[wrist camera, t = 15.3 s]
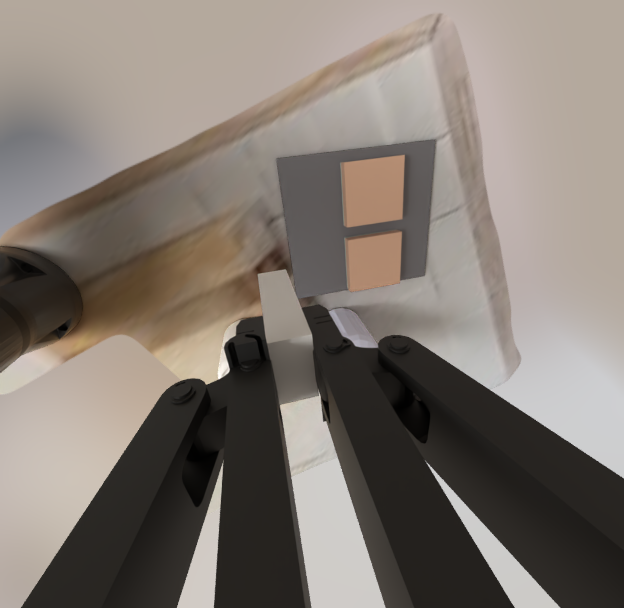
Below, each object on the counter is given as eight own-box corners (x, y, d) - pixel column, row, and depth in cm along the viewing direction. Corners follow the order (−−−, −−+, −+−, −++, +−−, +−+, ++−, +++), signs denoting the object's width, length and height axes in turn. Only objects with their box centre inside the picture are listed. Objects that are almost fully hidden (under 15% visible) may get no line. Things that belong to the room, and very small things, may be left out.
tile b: (350, 292, 48) (399, 283, 50) (348, 240, 44) (401, 231, 45) (346, 287, 50) (394, 278, 51) (344, 237, 46) (395, 229, 47)
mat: (296, 297, 50) (297, 298, 50) (276, 158, 40) (276, 158, 39) (422, 274, 53) (424, 275, 52) (433, 139, 43) (435, 139, 42)
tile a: (347, 227, 43) (402, 219, 44) (344, 162, 39) (404, 154, 40) (343, 224, 45) (396, 216, 46) (339, 162, 41) (397, 155, 42)
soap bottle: (366, 334, 57) (437, 439, 35) (325, 354, 57) (370, 471, 35) (351, 299, 52) (420, 393, 31) (307, 320, 53) (345, 430, 31)
